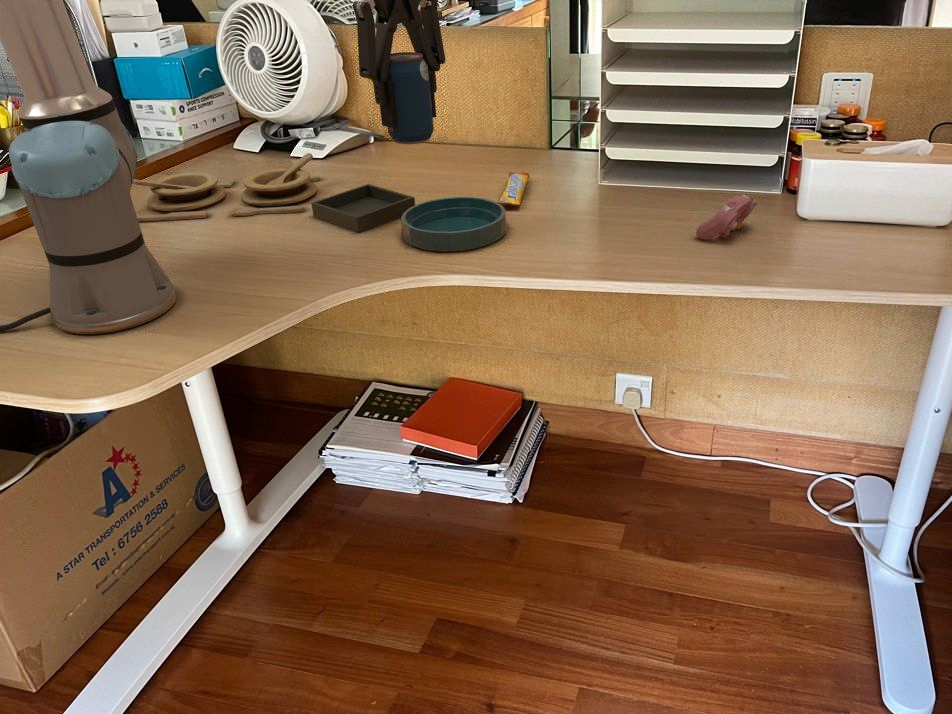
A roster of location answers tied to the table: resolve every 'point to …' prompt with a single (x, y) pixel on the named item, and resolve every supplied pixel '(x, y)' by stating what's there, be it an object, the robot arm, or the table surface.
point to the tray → (362, 207)
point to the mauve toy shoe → (727, 218)
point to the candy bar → (514, 189)
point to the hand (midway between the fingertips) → (409, 120)
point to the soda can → (410, 98)
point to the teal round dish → (454, 223)
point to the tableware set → (208, 189)
